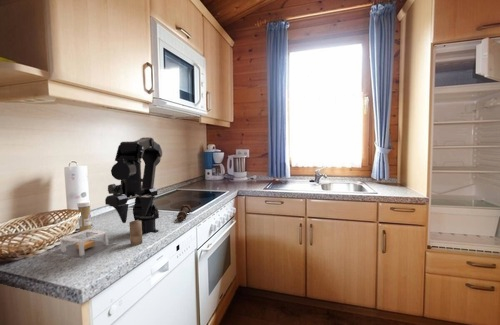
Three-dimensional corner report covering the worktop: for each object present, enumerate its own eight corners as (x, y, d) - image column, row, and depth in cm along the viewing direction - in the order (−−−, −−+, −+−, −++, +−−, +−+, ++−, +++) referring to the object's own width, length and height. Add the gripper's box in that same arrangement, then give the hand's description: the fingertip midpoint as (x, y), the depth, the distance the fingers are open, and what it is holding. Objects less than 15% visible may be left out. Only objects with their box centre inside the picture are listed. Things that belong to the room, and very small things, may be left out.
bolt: (179, 226, 118) (184, 216, 133) (188, 220, 118) (192, 211, 133) (172, 216, 118) (178, 207, 133) (181, 210, 118) (187, 202, 133)
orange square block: (87, 243, 90) (86, 239, 90) (94, 245, 89) (94, 241, 89) (75, 248, 87) (75, 244, 86) (84, 249, 85) (83, 245, 85)
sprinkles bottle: (91, 233, 105) (88, 202, 104) (78, 235, 103) (76, 203, 102) (92, 230, 109) (91, 199, 108) (80, 231, 108) (78, 201, 107)
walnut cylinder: (136, 243, 94) (135, 219, 93) (145, 244, 92) (143, 220, 92) (128, 247, 90) (126, 223, 89) (136, 248, 89) (135, 224, 88)
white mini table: (86, 241, 96) (85, 227, 96) (117, 246, 91) (116, 232, 90) (52, 254, 85) (51, 238, 85) (85, 261, 79) (84, 244, 79)
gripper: (135, 173, 101) (137, 211, 102) (92, 179, 83) (94, 224, 84) (157, 173, 97) (159, 213, 98) (116, 180, 79) (119, 228, 80)
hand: (134, 219), depth 90 cm, fingers open, 9 cm apart
